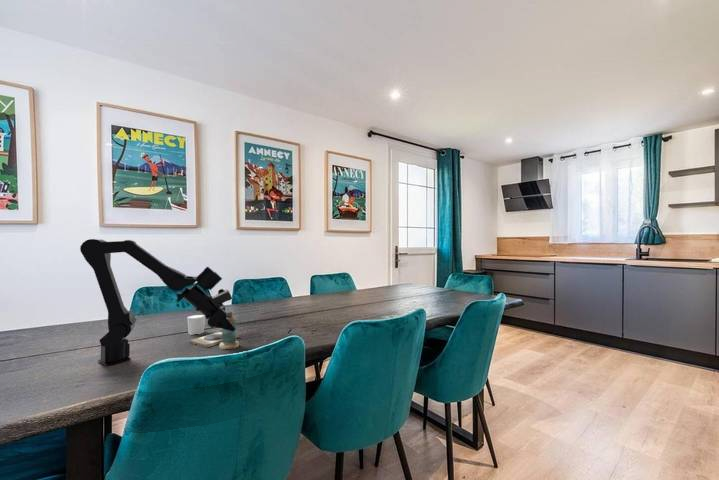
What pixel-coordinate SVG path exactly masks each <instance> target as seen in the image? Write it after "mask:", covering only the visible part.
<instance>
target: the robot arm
mask: <svg viewBox="0 0 719 480" xmlns="http://www.w3.org/2000/svg"><path fill="white" fill-rule="evenodd" d="M79 250H80V253H81V254H82V256H83V258H84V260H85V261H86V263H87V264H88V265H89V266H90V267H91V268H92V270H93V271H94V275H95V278H96V281H97V284H98V286H99V289H100V292H101V296H102V298H103V301H104V304H105V307H106V310H107V327H108V332H106V333H105V335H103V336H102V337H101V338H100V339H99V340H98V341H99V343H100V359H99V360H97V363H99V364H102V365H103V366H107V367H109V366H113V365H116V364H119V363H122V362H123V363H124V362H126V361H129V360H131V357H130V354H131V353H130V351H131V350H130V347H131V344H130V342H129V339H127V337H128V336H129V335H130V333H131V332H132V331H133V330H134V329H135V328H136V322H137V320H138V319H137V318H136V317H135V312H134V309H133V308H132V309H129V310H128V309H127V307H125V305H124V302H123V299H122V295H121V293H120V290H119V286H118V284H117V281H116V278H115V274H114V273H113V269H112V266H111V259H112V257H111V256H112V255H111V254H116V253H126V254H127V255H128V256H130V257H132V258H133V259H135V260H136V261H137V262H138V263H140V264H141V265H142V266H145V268H147V269H149V270H150V271H151V272H153V273H154V274H156V276H158V278H159V279H160V280H161V281H162V282H163V283H164V284H165V286H167V287H168V289H170V290H172V291H174V292H177V293H176V297H177V299H176V302H177V303H180V302H181V301H182V300H183V299H184V300H185V301H186V302H188V303H189V304H190V305H191V306H192V307H193V308H195V311H197V312H200V313H201V315H205V319H207V325H208V326H209V327H210V328H219V329H220V328H222V329H226V330H230V331H234V330H235V328H234V327H233V325H232V324H231V323H230V322H229V320H228V319H227V311H226V307H225V306H224V305H225V304H224V303H226V302H228V301H229V302H230V301H231V300H232V299H233V297H232V295H231V292H230V291H229V289H226V290H225V289H223V288H220V289H218V290H217V291H218V292H217V294H215V295H214V296H212V295H210V294H207V293H206V292H205V291H208V290H209V291H212V289H214V288H215V287H216V286H217V284H219V282H221V281H222V280H223V277H222V276H221V275H219V274H218V273H217V272H216V271H214V270H213V269H212V268H210V267H209V266H206V267H205V268H204V269H203V270H202V271H201V272H200V273H199V274H198V275H197V276H193V275H192V276H191V275H190V276H189V275H186V274H185V273H183V272H181V271H179V270H178V269H175V268H172V266H171V267H170V266H168V265H166V264H165V263H164V262H162V261H161V260H159V259H158V258H156V257H155V256H154V255H152V254H151V253H150V252H149V251H147V250H146V249H144V248H143V247H141V246H140V245H139V244H137V242H136V241H134V240H133V239H126V240H121V241H120V240H119V241H117V240H116V241H115V240H114V241H106V240H104V239H101V238H100V239H99V238H89V239H86V240H84V241H83V242H82V243H81V245H80V247H79ZM189 286H191V287H189ZM183 289H184V290H183ZM202 289H203V290H202ZM182 290H183V291H182ZM180 291H182V292H180Z"/></svg>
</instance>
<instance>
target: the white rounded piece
mask: <svg viewBox="0 0 719 480" xmlns="http://www.w3.org/2000/svg"><path fill="white" fill-rule="evenodd" d="M186 318H187V329H188V330H187V331H188V335H189V334H190V336H195V335H194V334H199V335H201V333H202V334H204V333H203V332H205V325H206V324H205V323H206V318H205V315H203V314H191V315H189V316H187V317H186Z"/></svg>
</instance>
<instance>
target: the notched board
mask: <svg viewBox="0 0 719 480" xmlns="http://www.w3.org/2000/svg"><path fill="white" fill-rule="evenodd" d="M236 339H239V330H236ZM221 342H222V328H219V331H218V332H215V333H211V334H207V335H204V336H201V337H196V338H192V339H190V340H189V344H192V343H193V344H192V345H195V344H197V345H196V346H199V347H204V348H209V347H212V346H215V345H219V344H220V343H221Z"/></svg>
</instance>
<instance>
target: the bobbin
mask: <svg viewBox="0 0 719 480" xmlns="http://www.w3.org/2000/svg"><path fill="white" fill-rule="evenodd" d="M226 313H227V319H228V320H229V322H230V323H231V324H232V325H233V327H234V328H235V330H234V331H230V330H226V329H222V342H221V343H219V344H218V347H219V349H220V350H223V349H224V350H226V349H229V350H233V348H234V349H236V347H237V348H238V347H239V346H240V342H239V341H238V340H237V338H236V331H237V317H236V316H234V315H233V311H226ZM224 350H223V351H224Z"/></svg>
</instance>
